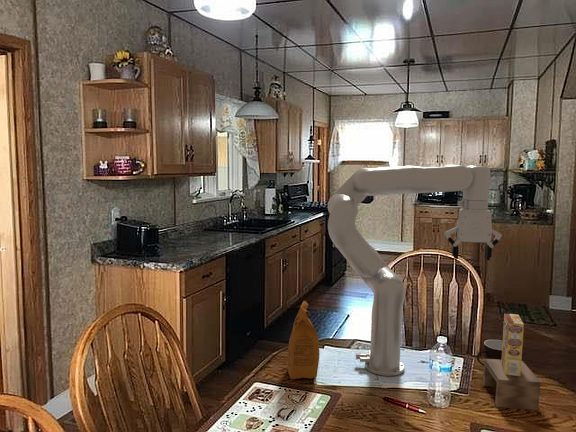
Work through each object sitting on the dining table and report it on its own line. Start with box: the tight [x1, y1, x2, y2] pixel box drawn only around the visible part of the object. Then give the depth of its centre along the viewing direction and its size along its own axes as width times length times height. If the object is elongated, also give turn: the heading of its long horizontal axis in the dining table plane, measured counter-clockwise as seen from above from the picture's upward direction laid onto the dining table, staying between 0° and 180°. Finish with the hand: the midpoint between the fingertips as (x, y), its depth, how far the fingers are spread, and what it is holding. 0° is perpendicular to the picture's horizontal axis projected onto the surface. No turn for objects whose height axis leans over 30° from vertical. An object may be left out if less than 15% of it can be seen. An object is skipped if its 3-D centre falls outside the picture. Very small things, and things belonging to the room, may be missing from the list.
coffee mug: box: [476, 339, 503, 367], centre depth 159 cm, size 12×9×10 cm
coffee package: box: [286, 300, 320, 380], centre depth 158 cm, size 10×12×22 cm
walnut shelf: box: [482, 358, 542, 411], centre depth 145 cm, size 11×14×8 cm
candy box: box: [501, 313, 525, 376], centre depth 144 cm, size 9×4×15 cm, turn 165°
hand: (471, 258), depth 160 cm, fingers open, 9 cm apart
